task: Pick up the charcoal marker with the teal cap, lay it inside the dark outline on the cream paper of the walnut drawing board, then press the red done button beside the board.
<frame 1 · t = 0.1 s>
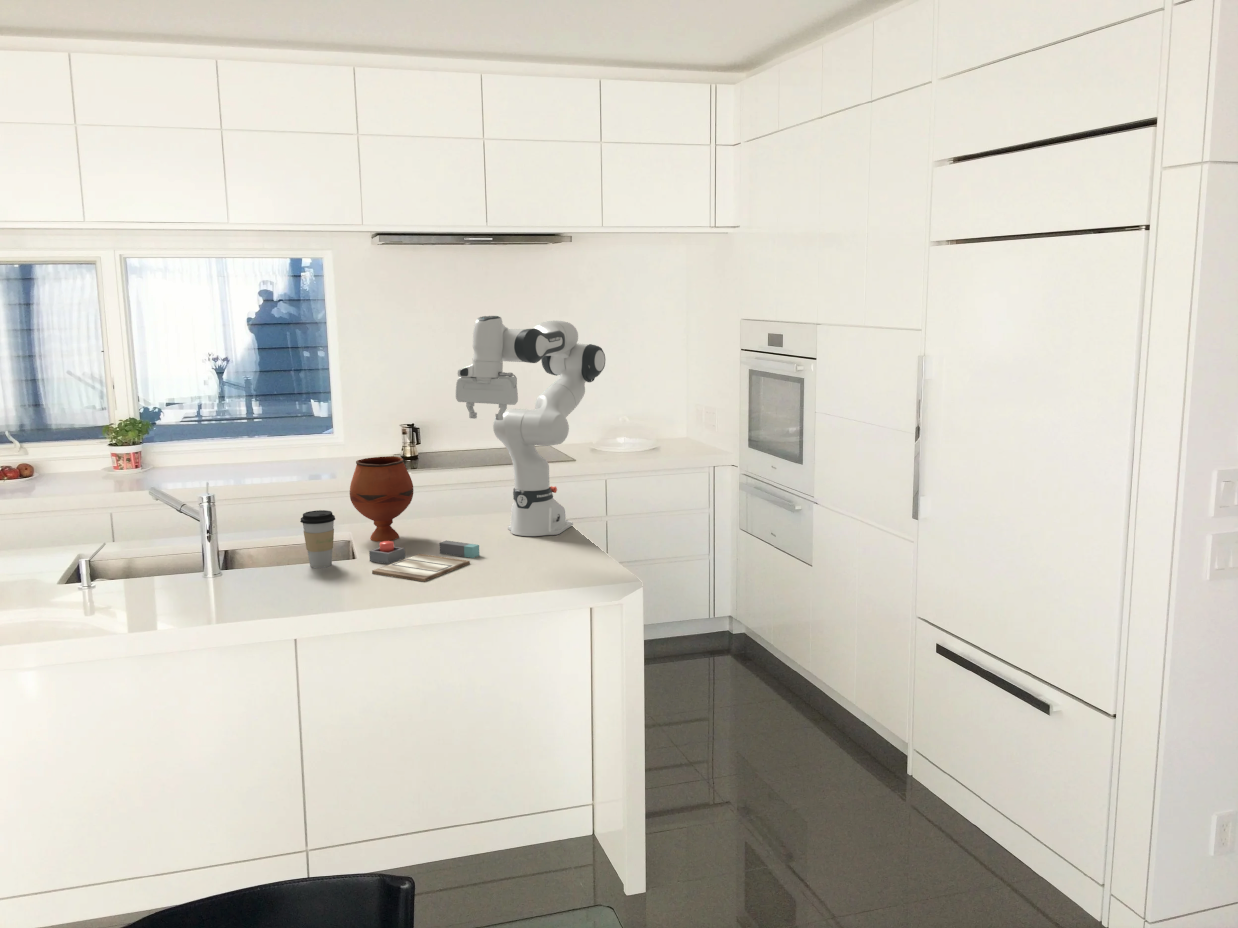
hand: (485, 419, 294), 39 cm above the countertop, tool pointing down, fingers open, 8 cm apart
drawing board: (421, 568, 279), on the countertop
button housing: (387, 559, 289), on the countertop
done button: (386, 547, 288), point 4 cm above the countertop, slide at 0.0 cm
goblet: (384, 539, 314), on the countertop
coffee cup: (320, 565, 284), on the countertop
marker: (459, 554, 294), on the countertop
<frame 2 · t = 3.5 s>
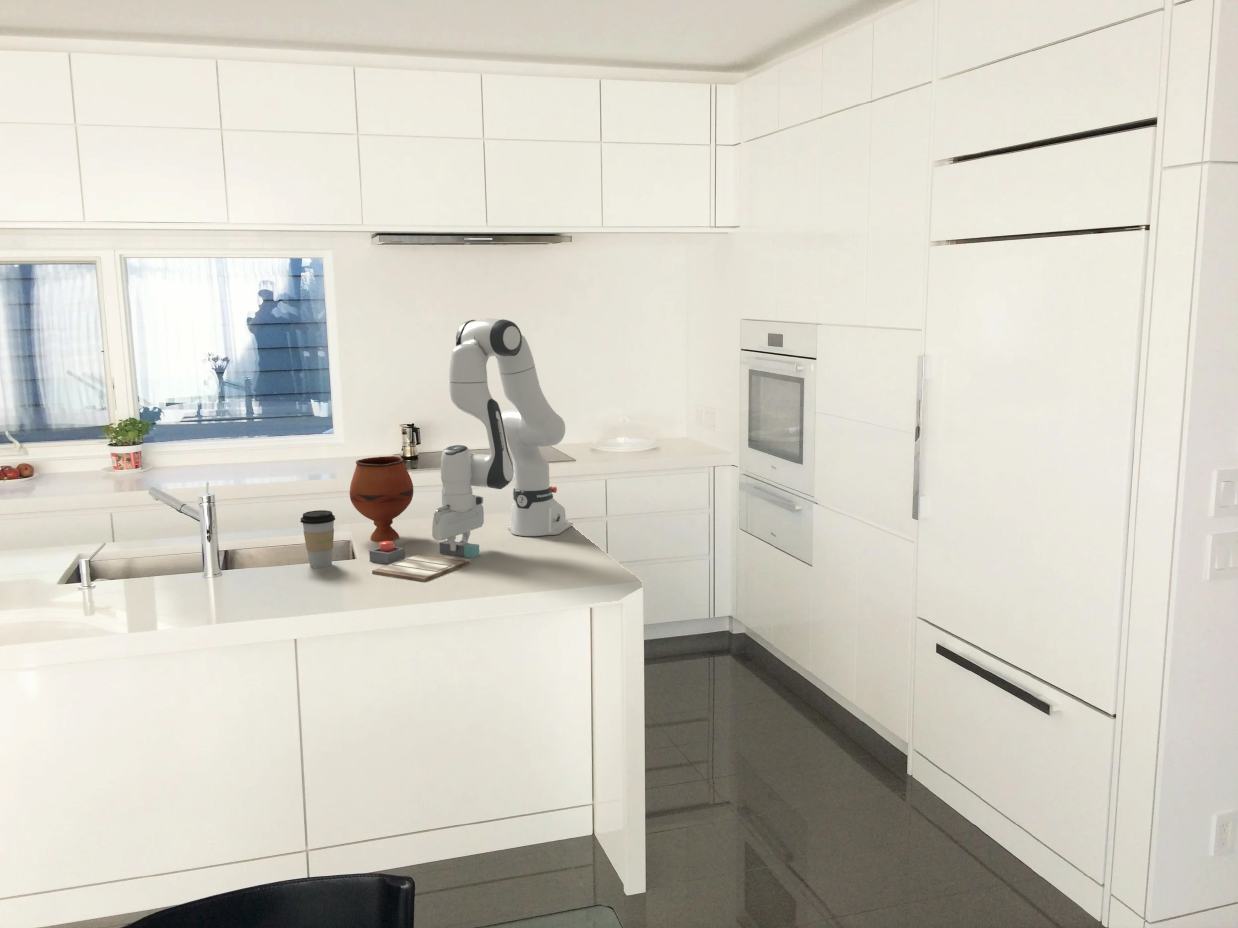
hand: (459, 548, 294), 2 cm above the countertop, tool pointing down, fingers closed on marker, 3 cm apart
marker: (459, 554, 294), on the countertop, touching gripper
everything else where it was.
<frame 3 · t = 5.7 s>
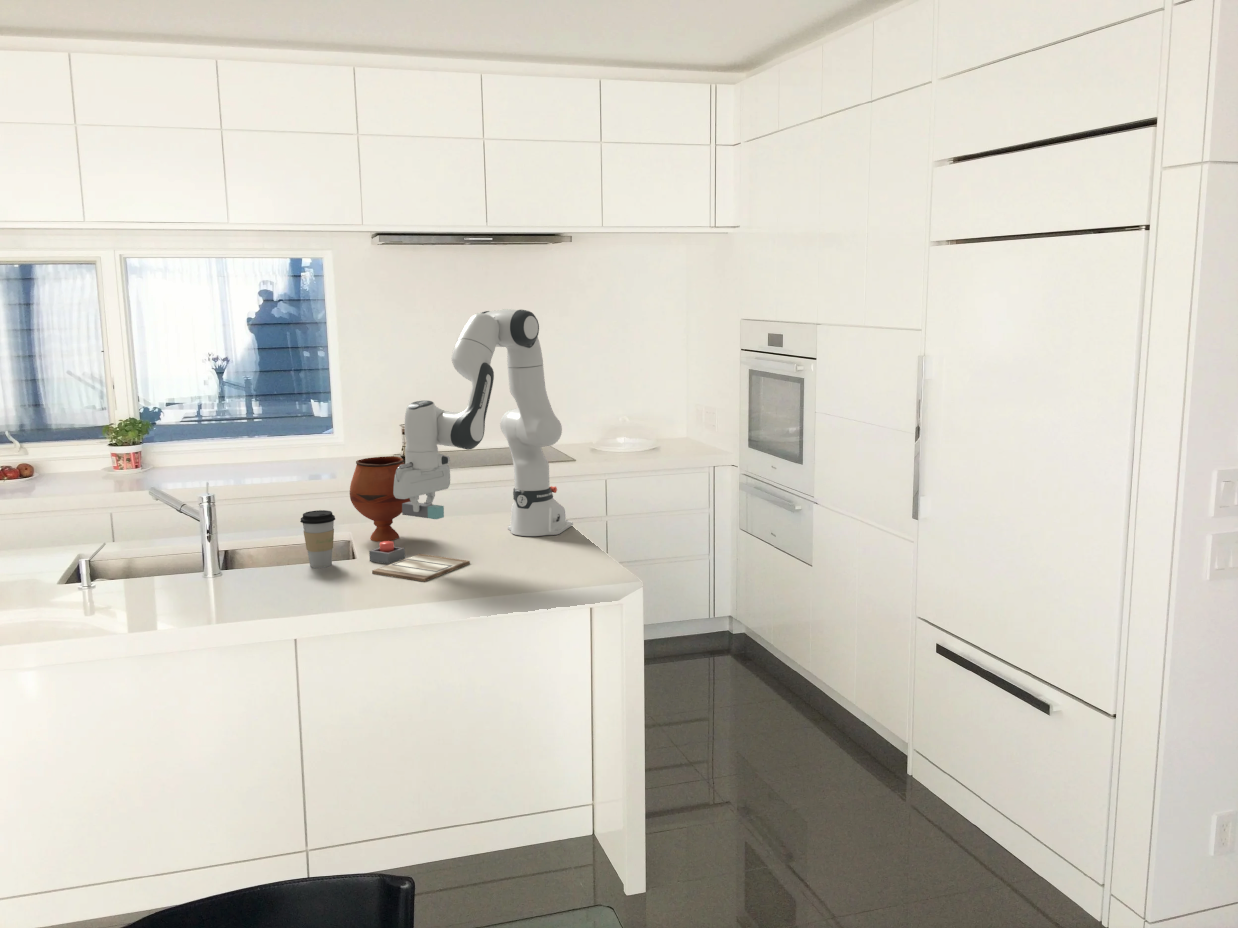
hand: (422, 510, 278), 16 cm above the countertop, tool pointing down, fingers closed on marker, 3 cm apart
marker: (423, 516, 278), point 15 cm above the countertop, touching gripper
everything else where it was.
when the fingers open (4 cm above the countertop, at t = 8.4 s): marker drops 1 cm, resting on drawing board.
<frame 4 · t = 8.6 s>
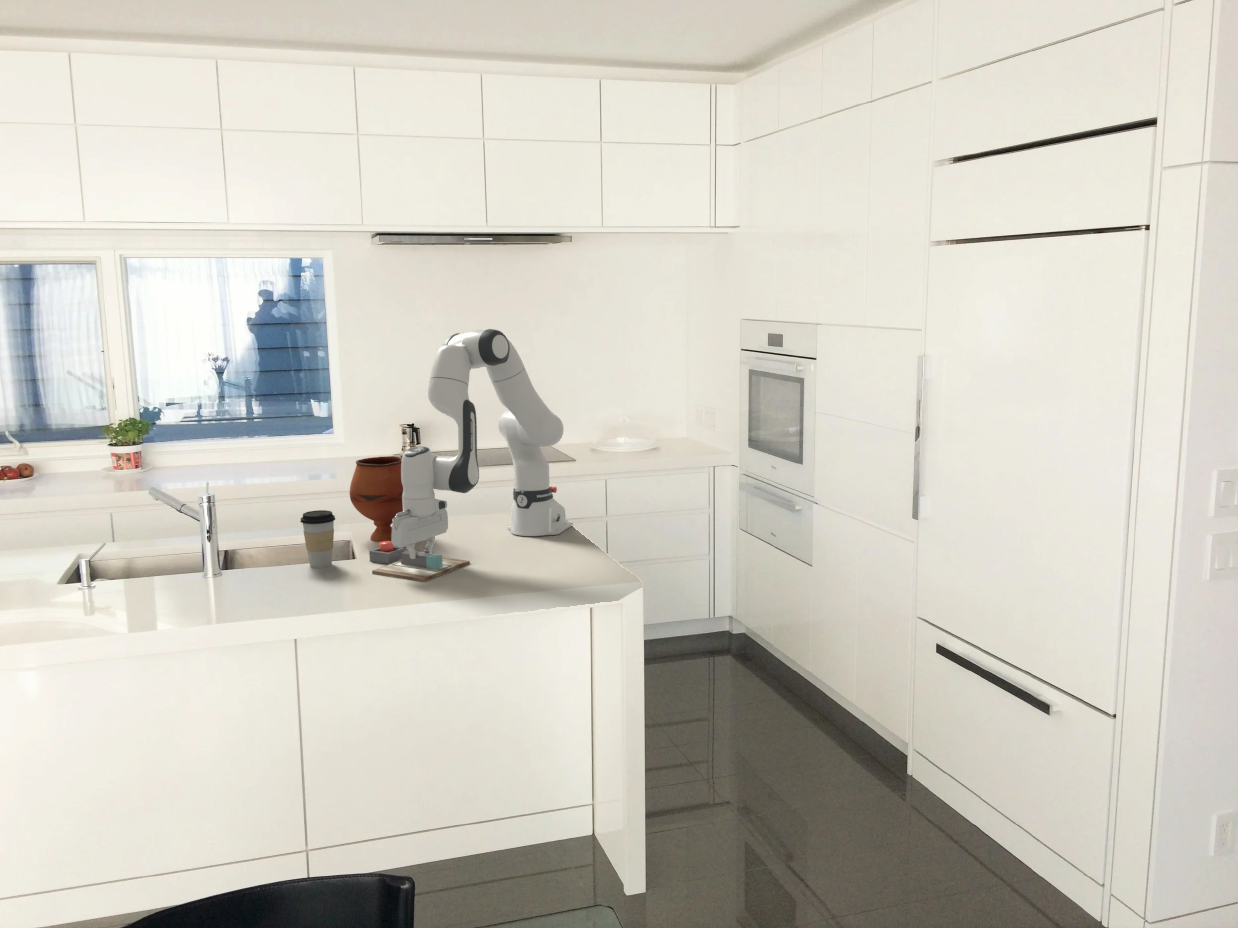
hand: (421, 555, 279), 4 cm above the countertop, tool pointing down, fingers open, 5 cm apart
marker: (421, 565, 279), point 1 cm above the countertop, touching drawing board
everything else where it was.
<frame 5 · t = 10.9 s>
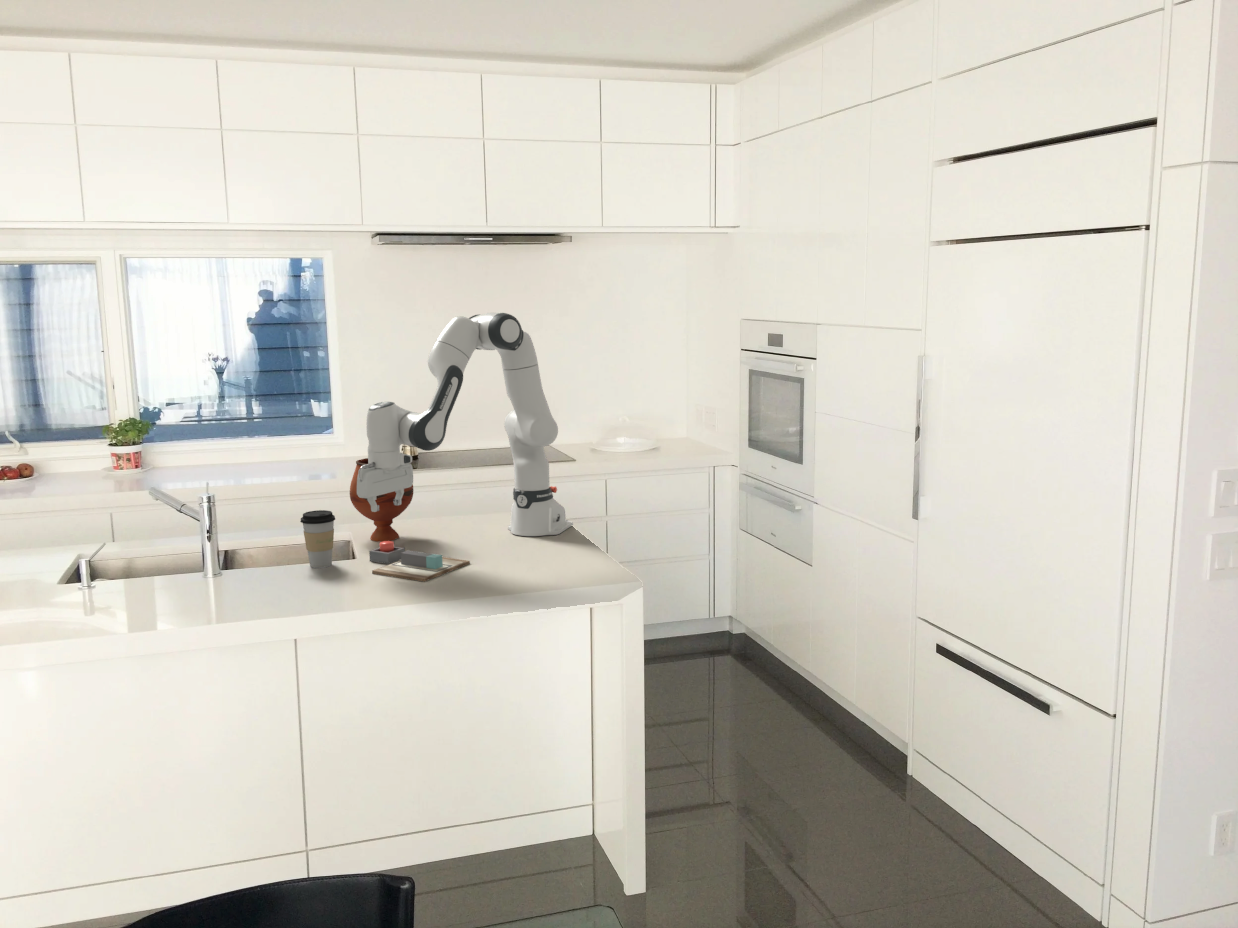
hand: (386, 508, 286), 15 cm above the countertop, tool pointing down, fingers open, 8 cm apart
nothing on the countertop moved.
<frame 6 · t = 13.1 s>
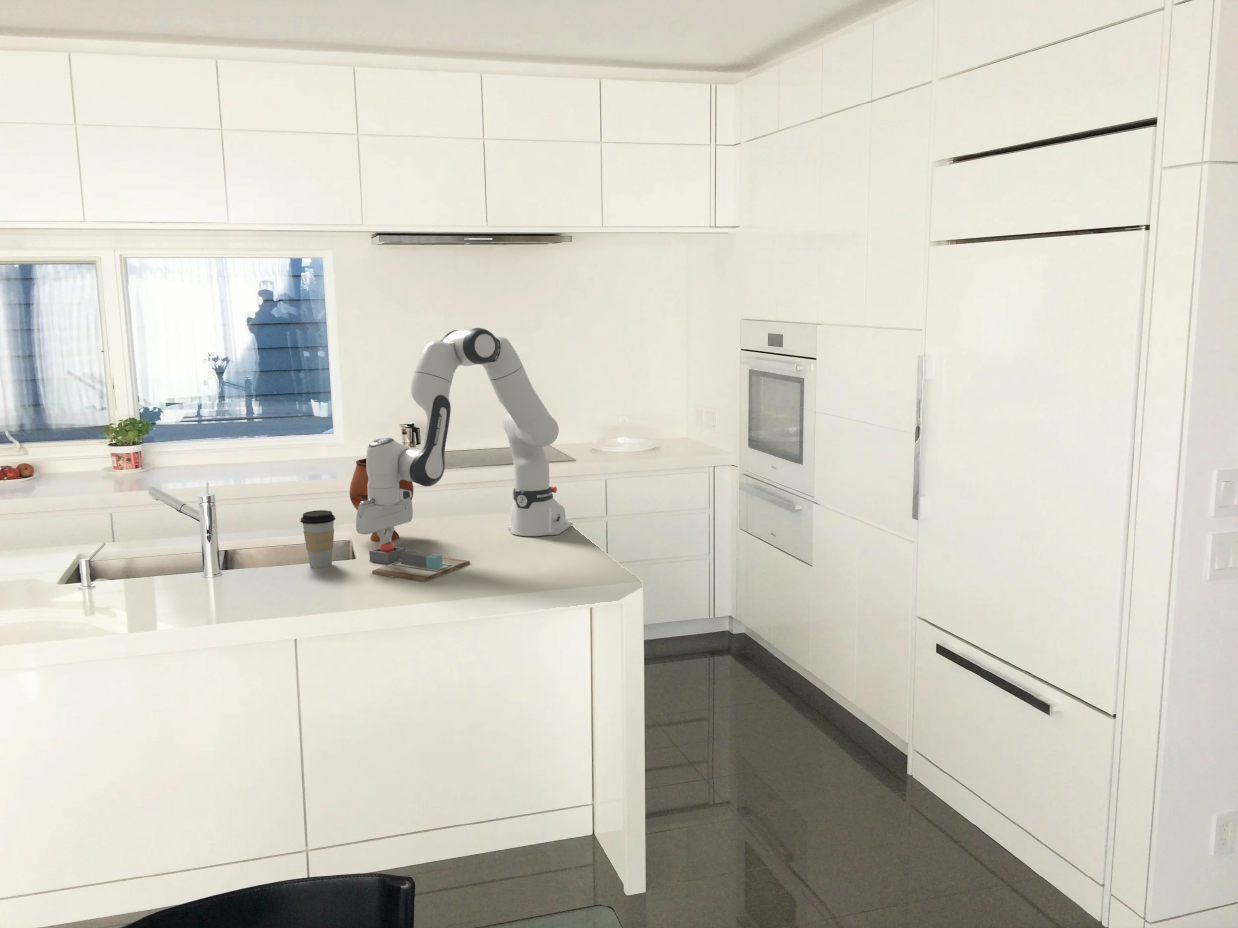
hand: (385, 543, 288), 5 cm above the countertop, tool pointing down, fingers closed, pressing on done button
done button: (386, 547, 288), point 3 cm above the countertop, slide at 0.2 cm, touching gripper
everything else where it was.
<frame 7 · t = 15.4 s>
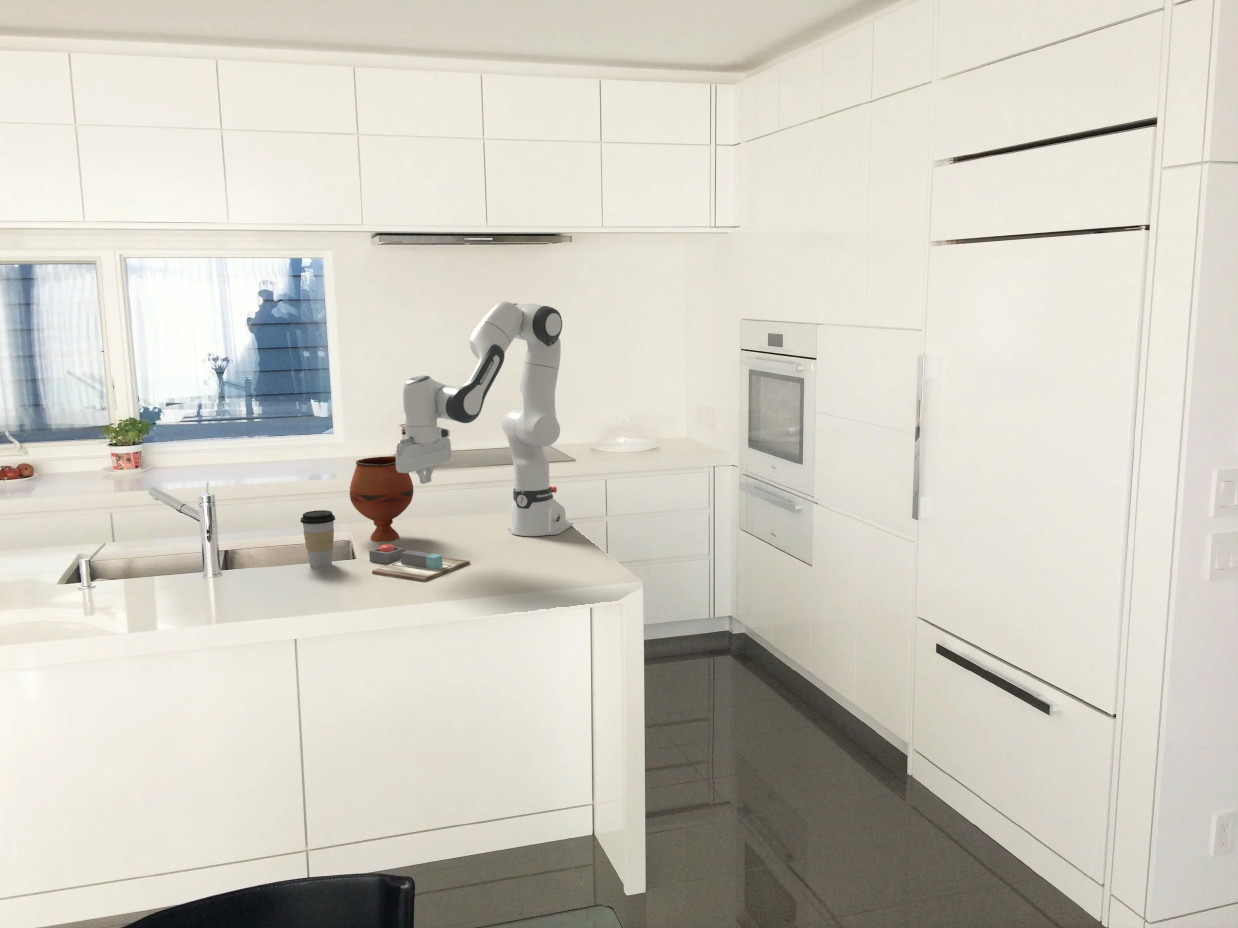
hand: (425, 482, 285), 22 cm above the countertop, tool pointing down, fingers closed
done button: (387, 550, 288), point 3 cm above the countertop, slide at 1.0 cm
everything else where it was.
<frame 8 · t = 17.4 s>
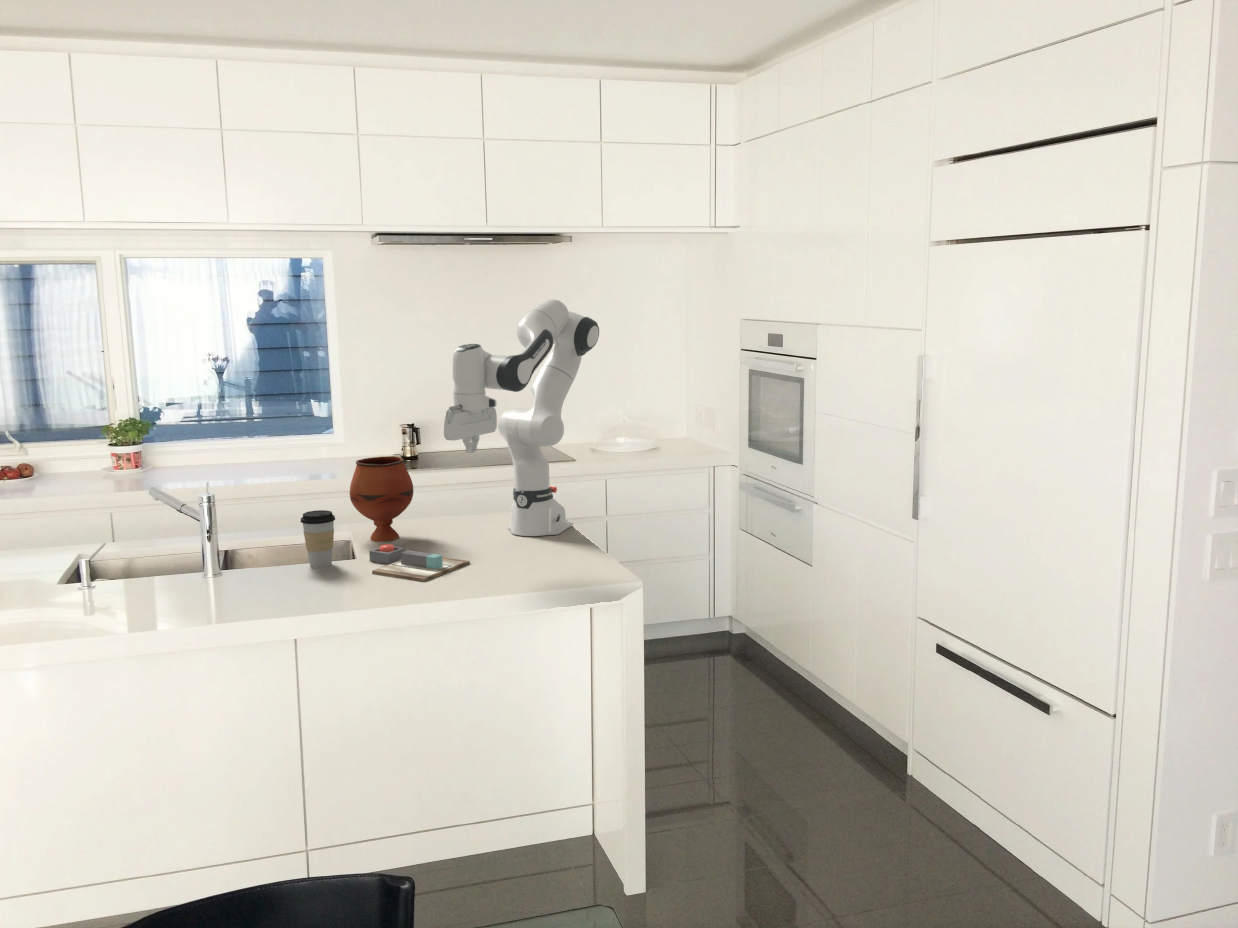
hand: (471, 452, 282), 31 cm above the countertop, tool pointing down, fingers closed
nothing on the countertop moved.
at the end: marker inside the target area on the drawing board (0.1 cm from its centre), point 0.9 cm above the drawing board's base; done button slide at 1.0 cm; the gripper is holding nothing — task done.
